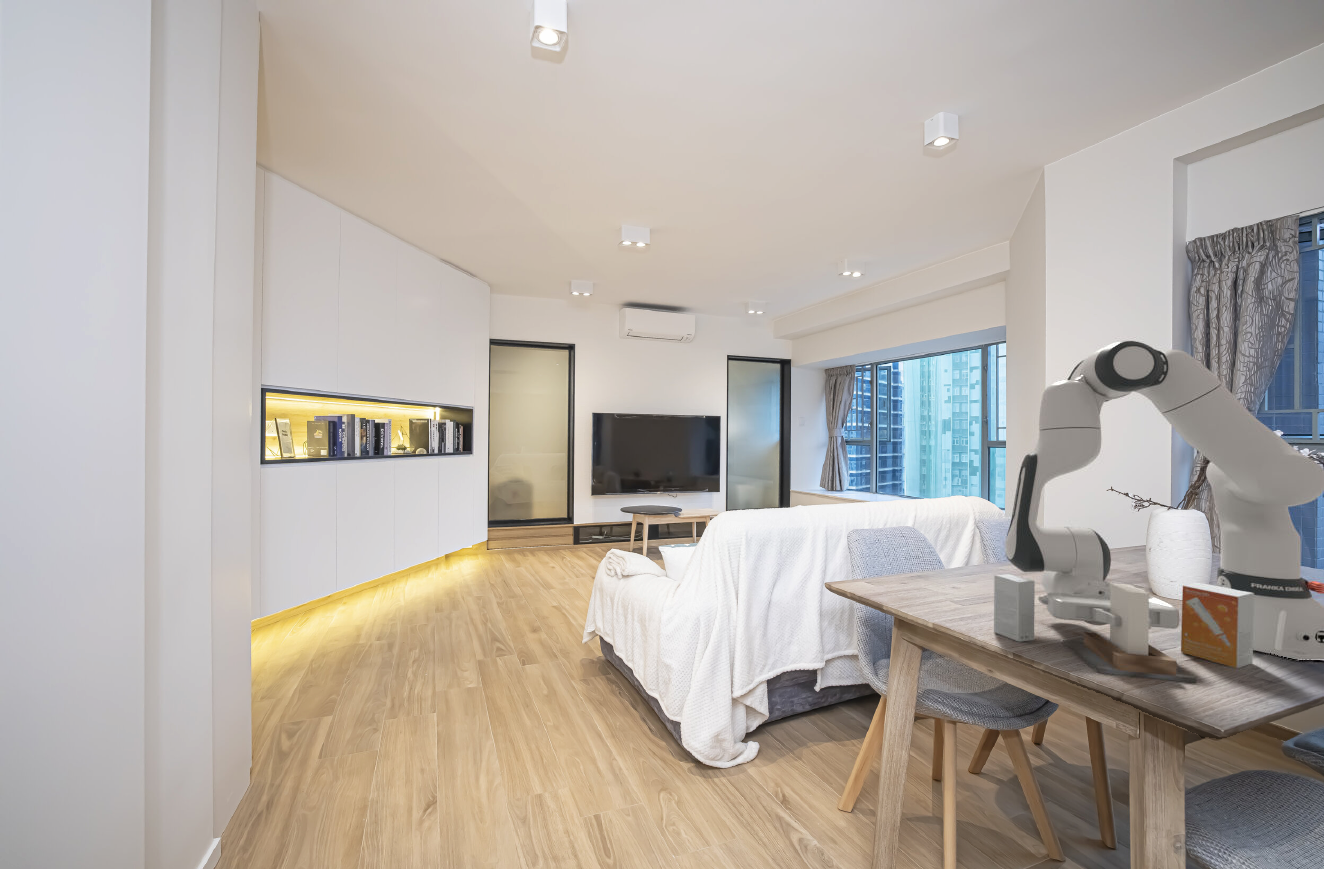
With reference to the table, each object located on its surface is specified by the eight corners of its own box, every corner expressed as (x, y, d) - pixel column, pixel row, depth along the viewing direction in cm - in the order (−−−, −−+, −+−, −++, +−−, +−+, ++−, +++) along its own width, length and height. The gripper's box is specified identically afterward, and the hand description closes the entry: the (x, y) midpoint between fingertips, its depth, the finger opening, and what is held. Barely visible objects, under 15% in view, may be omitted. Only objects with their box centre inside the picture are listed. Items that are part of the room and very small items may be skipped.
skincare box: (1035, 640, 112) (1036, 580, 112) (1018, 642, 111) (1019, 582, 111) (1008, 630, 118) (1009, 573, 118) (992, 632, 117) (993, 574, 117)
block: (1128, 649, 103) (1129, 584, 103) (1148, 662, 97) (1149, 593, 97) (1109, 648, 104) (1110, 583, 104) (1127, 660, 98) (1128, 592, 98)
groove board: (1146, 651, 107) (1146, 634, 107) (1196, 682, 93) (1196, 663, 93) (1062, 643, 111) (1062, 627, 111) (1098, 672, 97) (1099, 653, 97)
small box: (1180, 653, 107) (1181, 584, 107) (1196, 648, 109) (1197, 581, 109) (1237, 669, 99) (1238, 596, 99) (1254, 664, 102) (1255, 592, 102)
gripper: (1034, 581, 116) (1065, 600, 102) (1151, 589, 111) (1199, 610, 97) (1034, 611, 116) (1064, 634, 102) (1151, 621, 111) (1199, 646, 97)
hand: (1131, 623), depth 100 cm, fingers closed on block, 3 cm apart
